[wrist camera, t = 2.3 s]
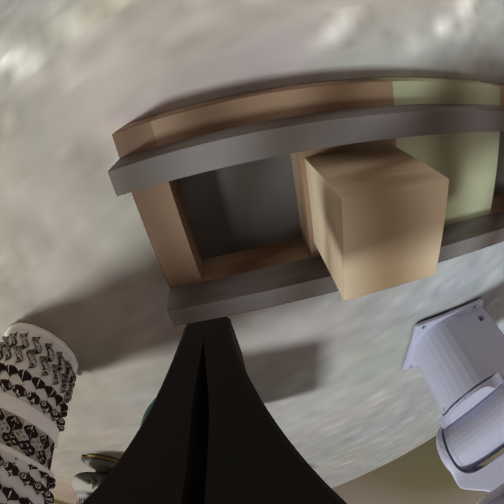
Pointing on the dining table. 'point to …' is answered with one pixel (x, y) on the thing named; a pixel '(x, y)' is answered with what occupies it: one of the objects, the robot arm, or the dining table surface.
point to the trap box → (297, 180)
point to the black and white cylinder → (32, 410)
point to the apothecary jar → (92, 475)
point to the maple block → (376, 217)
